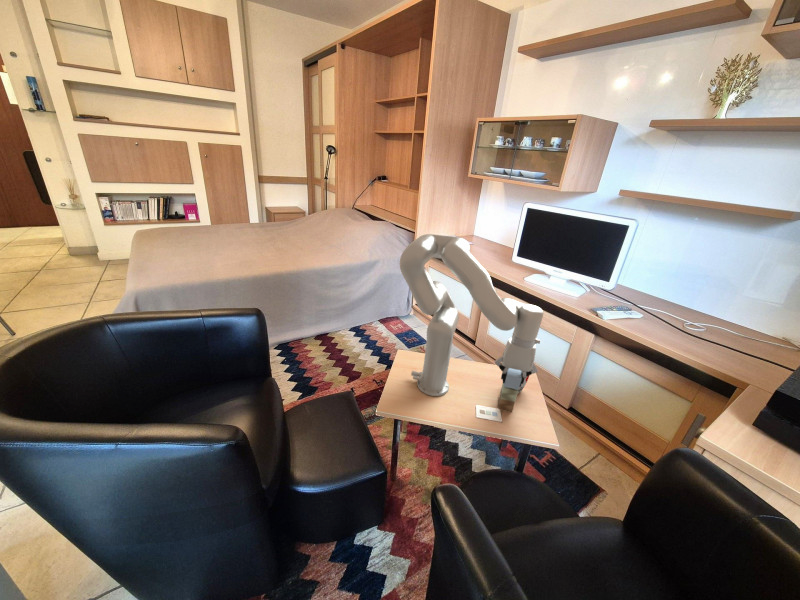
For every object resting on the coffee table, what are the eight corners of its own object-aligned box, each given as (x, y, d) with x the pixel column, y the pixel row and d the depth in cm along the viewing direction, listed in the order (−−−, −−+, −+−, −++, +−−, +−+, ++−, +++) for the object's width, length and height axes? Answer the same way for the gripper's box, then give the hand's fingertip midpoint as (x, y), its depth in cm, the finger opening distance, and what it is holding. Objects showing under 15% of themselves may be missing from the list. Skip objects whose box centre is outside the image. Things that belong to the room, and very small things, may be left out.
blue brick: (503, 378, 123) (506, 367, 120) (517, 381, 122) (520, 370, 119) (504, 386, 118) (507, 375, 116) (518, 389, 117) (521, 378, 115)
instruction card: (476, 417, 118) (476, 416, 118) (475, 405, 124) (475, 404, 124) (501, 422, 117) (502, 421, 117) (500, 409, 123) (500, 408, 122)
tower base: (498, 409, 123) (503, 387, 119) (498, 400, 127) (503, 379, 123) (511, 412, 122) (518, 391, 118) (511, 403, 126) (517, 382, 122)
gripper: (548, 339, 114) (534, 381, 121) (497, 329, 117) (487, 371, 125) (551, 351, 107) (536, 395, 115) (497, 340, 110) (487, 383, 118)
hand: (511, 382), depth 120 cm, fingers closed on blue brick, 4 cm apart
